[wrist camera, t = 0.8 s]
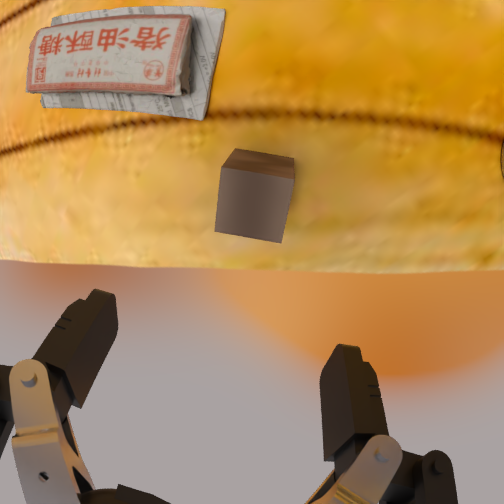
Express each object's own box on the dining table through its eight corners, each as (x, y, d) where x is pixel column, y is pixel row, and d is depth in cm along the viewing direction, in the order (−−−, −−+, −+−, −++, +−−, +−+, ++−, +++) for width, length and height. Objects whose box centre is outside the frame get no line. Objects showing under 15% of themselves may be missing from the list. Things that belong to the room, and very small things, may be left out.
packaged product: (17, 115, 21) (28, 15, 16) (48, 106, 25) (58, 18, 20) (192, 127, 21) (216, -3, 16) (208, 119, 25) (229, 11, 20)
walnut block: (293, 158, 26) (294, 179, 21) (283, 210, 28) (281, 243, 23) (235, 148, 26) (221, 167, 21) (228, 201, 28) (214, 231, 23)
